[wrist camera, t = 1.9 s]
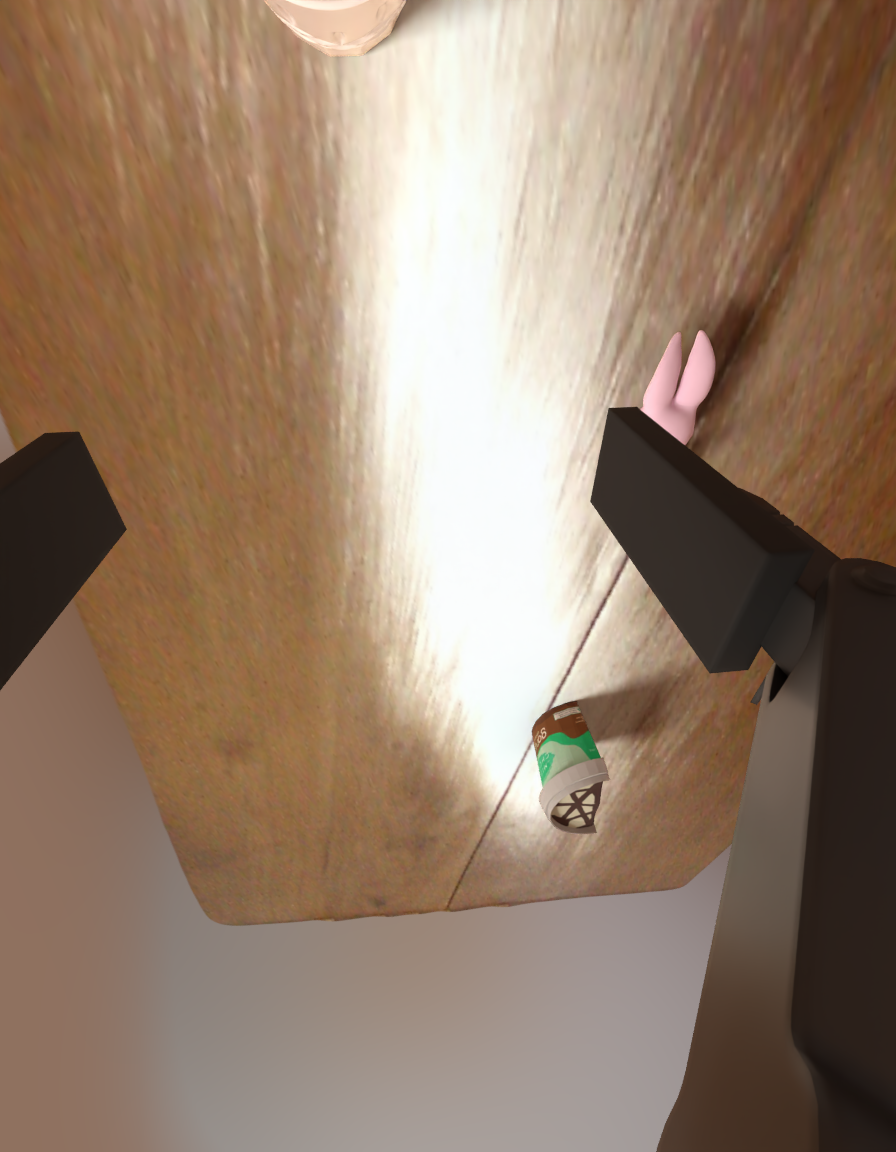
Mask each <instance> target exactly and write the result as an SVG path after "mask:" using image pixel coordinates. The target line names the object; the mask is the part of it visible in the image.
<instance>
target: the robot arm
mask: <svg viewBox="0 0 896 1152" xmlns="http://www.w3.org/2000/svg"><path fill="white" fill-rule="evenodd" d="M590 502H591V503H592V505H593V506H594V507H595V509H596V510H597V512H598V513H599V515H600V516H601V518H602V519H603V520H604V522H605V523H606V525H607V526H608V528H609V529H610V530H611V532H612V533H613V535H614V536H615V538H616V539H617V541H618V542H619V543H620V545H621V546H622V548H623V549H624V551H625V552H626V554H627V555H628V556H629V558H630V559H631V561H632V562H633V564H634V565H635V566H636V568H637V569H638V571H639V572H640V574H641V575H642V577H643V578H644V579H645V581H646V582H647V584H648V585H649V587H650V588H651V589H652V591H653V592H654V594H655V595H656V597H657V598H658V600H659V601H660V602H661V604H662V605H663V607H664V608H665V610H666V611H667V612H668V614H669V615H670V617H671V618H672V620H673V621H674V623H675V624H676V625H677V627H678V628H679V630H680V631H681V633H682V634H683V636H684V637H685V638H686V640H687V641H688V643H689V644H690V646H691V647H692V648H693V650H694V651H695V653H696V654H697V656H698V657H699V659H700V660H701V661H702V663H703V664H704V666H705V667H706V669H707V670H708V671H709V673H719V672H730V671H741V670H748V669H749V668H750V666H751V664H752V662H753V660H754V659H755V657H756V655H757V653H758V651H759V650H760V648H761V646H762V647H763V649H764V650H765V651H766V652H767V653H768V654H769V656H770V657H771V658H772V659H773V660H774V661H775V662H774V664H773V665H772V667H771V669H770V670H769V672H768V674H767V675H766V677H765V679H764V680H763V682H762V684H761V685H760V687H759V689H758V690H757V692H756V694H755V695H754V697H753V699H752V700H751V703H754V704H756V705H757V704H758V703H759V701H760V700H761V704H760V709H759V714H758V719H757V724H756V728H755V733H754V738H753V743H752V748H751V753H750V758H749V763H748V768H747V773H746V778H745V782H744V787H743V792H742V797H741V802H740V807H739V812H738V817H737V822H736V827H735V832H734V836H733V841H732V847H731V852H730V856H729V861H728V866H727V871H726V876H725V881H724V886H723V891H722V895H721V900H720V905H719V910H718V915H717V920H716V925H715V930H714V935H713V940H712V945H711V950H710V954H709V959H708V964H707V970H706V974H705V979H704V984H703V989H702V994H701V999H700V1003H699V1008H698V1013H697V1019H696V1023H695V1028H694V1033H693V1038H692V1043H691V1048H690V1053H689V1058H688V1062H687V1067H686V1072H685V1076H684V1080H683V1084H682V1087H681V1090H680V1093H679V1096H678V1098H677V1100H676V1102H675V1105H674V1107H673V1109H672V1111H671V1113H670V1115H669V1117H668V1119H667V1121H666V1123H665V1126H664V1129H663V1132H662V1135H661V1138H660V1141H659V1144H658V1147H657V1151H656V1152H896V567H893V566H890V565H887V564H884V563H881V562H877V561H872V560H867V559H861V558H845V559H842V560H841V559H840V558H839V557H837V556H836V555H835V554H833V553H832V552H831V551H830V550H828V549H827V548H826V547H824V546H823V545H822V544H821V543H819V542H818V541H817V540H815V539H814V538H813V537H812V536H810V535H809V534H808V533H806V532H805V531H804V530H803V529H801V528H800V527H799V526H794V522H792V521H791V520H790V519H788V518H787V517H786V516H785V515H780V512H779V511H778V510H777V509H776V508H774V507H773V506H772V505H770V504H769V503H768V502H767V501H765V500H764V499H763V498H760V497H758V496H756V495H754V494H752V493H750V492H747V491H745V490H743V489H741V488H737V487H736V486H735V485H734V484H732V483H731V482H730V481H729V480H727V479H726V478H725V477H724V476H722V475H721V474H720V473H719V472H717V471H716V470H715V469H714V468H712V467H711V466H710V465H709V464H707V463H706V462H705V461H704V460H702V459H701V458H700V457H699V456H697V455H696V454H695V453H694V452H692V451H691V450H690V449H689V448H687V447H686V446H685V445H684V444H683V443H681V442H680V441H679V440H678V439H676V438H675V437H674V436H673V435H671V434H670V433H669V432H668V431H666V430H665V429H664V428H663V427H661V426H660V425H659V424H658V423H656V422H655V421H654V420H653V419H651V418H650V417H649V416H648V415H646V414H645V413H644V412H643V411H641V410H640V409H639V408H638V407H624V408H609V409H608V414H607V419H606V425H605V430H604V435H603V440H602V445H601V450H600V455H599V460H598V465H597V470H596V475H595V480H594V486H593V491H592V496H591V501H590ZM126 530H127V529H126V527H125V525H124V523H123V521H122V519H121V517H120V515H119V513H118V511H117V509H116V506H115V504H114V502H113V500H112V498H111V496H110V494H109V492H108V490H107V488H106V486H105V484H104V482H103V480H102V478H101V476H100V474H99V472H98V470H97V468H96V466H95V464H94V461H93V459H92V457H91V455H90V453H89V451H88V449H87V447H86V445H85V443H84V441H83V439H82V437H81V435H80V433H79V432H59V433H44V434H43V435H42V436H40V437H39V438H37V439H36V440H34V441H33V442H31V443H30V444H28V445H27V446H25V447H24V448H22V449H21V450H19V451H18V452H17V453H15V454H14V455H12V456H11V457H9V458H8V459H6V460H5V461H3V462H2V463H0V690H1V689H2V687H3V686H4V685H5V684H6V682H7V681H8V680H9V678H10V677H11V676H12V675H13V673H14V672H15V671H16V670H17V668H18V667H19V666H20V665H21V663H22V662H23V661H24V659H25V658H26V657H27V656H28V654H29V653H30V652H31V651H32V649H33V648H34V647H35V645H36V644H37V643H38V642H39V640H40V639H41V638H42V637H43V635H44V634H45V633H46V631H47V630H48V629H49V628H50V626H51V625H52V624H53V623H54V621H55V620H56V619H57V617H58V616H59V615H60V613H61V612H62V611H63V610H64V609H65V607H66V606H67V605H68V603H69V602H70V601H71V600H72V598H73V597H74V596H75V595H76V593H77V592H78V591H79V589H80V588H81V587H82V586H83V584H84V583H85V582H86V581H87V579H88V578H89V577H90V575H91V574H92V573H93V572H94V570H95V569H96V568H97V567H98V565H99V564H100V563H101V561H102V560H103V559H104V558H105V556H106V555H107V554H108V553H109V551H110V550H111V549H112V547H113V546H114V545H115V544H116V542H117V541H118V540H119V538H120V537H121V536H122V535H123V533H124V532H125V531H126ZM761 698H762V699H761Z"/></svg>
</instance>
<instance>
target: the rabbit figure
mask: <svg viewBox="0 0 896 1152" xmlns="http://www.w3.org/2000/svg"><path fill="white" fill-rule="evenodd" d="M681 362H682V352H681V332H677V333H676V334H675V335H674V336H673V337H672V339H671V341H670V342H669V344H668V347H667V349H666V351H665V353H664V355H663V357H662V359H661V361H660V363H659V365H658V367H657V369H656V372H655V374H654V376H653V378H652V380H651V382H650V384H649V386H648V388H647V390H646V392H645V395H644V399H643V407H641V408H640V410H641V411H643V412H644V413H645V414H646V415H648V416H649V417H650V418H651V419H653V420H654V421H655V422H656V423H658V424H659V425H660V426H661V427H663V428H664V429H665V430H666V431H668V432H669V433H670V434H671V435H673V436H674V437H675V438H676V439H678V440H679V441H680V442H681V443H683V444H684V445H686V444H687V442H688V441H689V439H690V438H691V437H692V435H693V433H694V425H695V417H696V409H697V407H698V405H699V404H700V403H701V402H702V401H703V400H704V399H705V397H706V396H707V394H708V392H709V390H710V388H711V385H712V382H713V378H714V373H715V356H714V351H713V348H712V345H711V343H710V340H709V338H708V336H707V334H706V333H705V332H704V331H703V330H700V331H699V332H698V334H697V337H696V340H695V343H694V346H693V348H692V350H691V353H690V356H689V359H688V362H687V365H686V367H685V370H684V373H683V375H682V378H681V381H680V384H679V387H678V390H677V393H676V395H675V396H674V394H675V391H676V387H677V382H678V377H679V373H680V369H681ZM673 396H674V397H673Z"/></svg>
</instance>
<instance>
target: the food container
mask: <svg viewBox="0 0 896 1152" xmlns="http://www.w3.org/2000/svg"><path fill="white" fill-rule="evenodd" d="M532 736H533V741H534V746H535V751H536V756H537V761H538V766H539V771H540V776H541V781H542V786H543V789H542V791H541V793H540V796H539V802H540V804H541V807H542V809H543V811H544V813H545V815H546V817H547V818H548V820H549V821H550V822H551V823H552V825H553V826H554V827H555V828H557V829H558V830H561V831H563V832H567V833H572V834H594V833H597V832H596V829H595V826H594V817H595V813H596V811H597V809H598V807H599V804H600V796H601V788H602V783H603V781H608V780H610V778H609V775H608V771H607V767H606V764H605V761H604V758H601V757H600V755H599V752H598V750H597V748H596V745H595V743H594V741H593V738H592V736H591V734H590V731H589V729H588V727H587V725H586V722H585V720H584V718H583V715H582V713H581V711H580V708H579V706H578V704H577V701H575V702H570V703H565V704H563V705H560V706H557V707H555V708H553V709H551V710H549V711H548V712H546V713H544V714H543V715H542V716H541V717H540V718H539V719H538V720H537V721H536V722H535V724H534V726H533V729H532Z"/></svg>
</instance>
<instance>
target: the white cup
mask: <svg viewBox="0 0 896 1152" xmlns="http://www.w3.org/2000/svg"><path fill="white" fill-rule="evenodd" d="M263 1H264V2H265V3H266V4H267V5H268V6H269V7H270V8H271V9H272V11H273V12H274V13H275V14H276V15H277V16H278V17H279V18H280V19H281V20H282V21H283V22H284V23H285V24H286V25H287V26H288V27H289V28H290V29H291V30H292V31H293V33H294V34H295V35H296V36H297V37H298V38H300V39H301V40H303V41H305V42H306V43H308V44H310V45H311V46H313V47H315V48H316V49H318V50H319V51H321V52H323V53H324V54H326V55H328V56H330V57H333V56H362V55H364V54H365V53H366V52H368V51H369V50H370V49H372V48H373V47H374V46H375V45H377V44H378V43H379V42H380V41H382V40H383V39H384V38H386V37H387V36H388V35H389V34H390V33H391V31H392V29H393V27H394V25H395V23H396V20H397V18H398V16H399V14H400V12H401V9H402V8H403V6H404V5H405V3H406V1H407V0H263Z"/></svg>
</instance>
